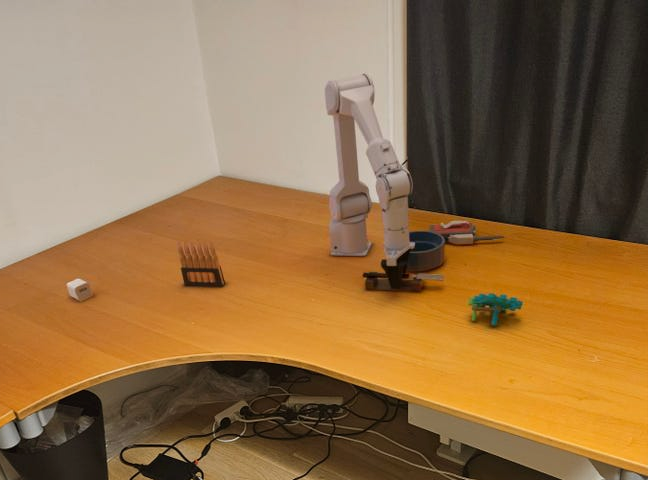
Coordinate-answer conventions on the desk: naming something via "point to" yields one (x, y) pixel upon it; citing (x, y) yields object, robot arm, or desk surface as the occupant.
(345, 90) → the robot arm
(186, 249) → the ammunition clip
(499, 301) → the teal knobby toy
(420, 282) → the cutlery rest
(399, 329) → the desk surface
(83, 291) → the usb wall charger
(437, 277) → the fork
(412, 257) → the bowl
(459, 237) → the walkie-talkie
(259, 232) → the desk surface
